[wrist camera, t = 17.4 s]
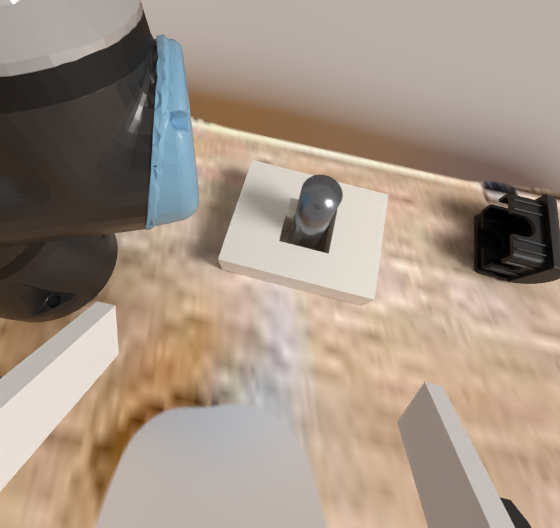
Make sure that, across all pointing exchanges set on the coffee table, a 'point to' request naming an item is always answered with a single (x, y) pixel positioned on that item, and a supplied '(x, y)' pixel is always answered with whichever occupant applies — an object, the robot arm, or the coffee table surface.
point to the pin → (315, 210)
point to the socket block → (298, 260)
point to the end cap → (518, 240)
